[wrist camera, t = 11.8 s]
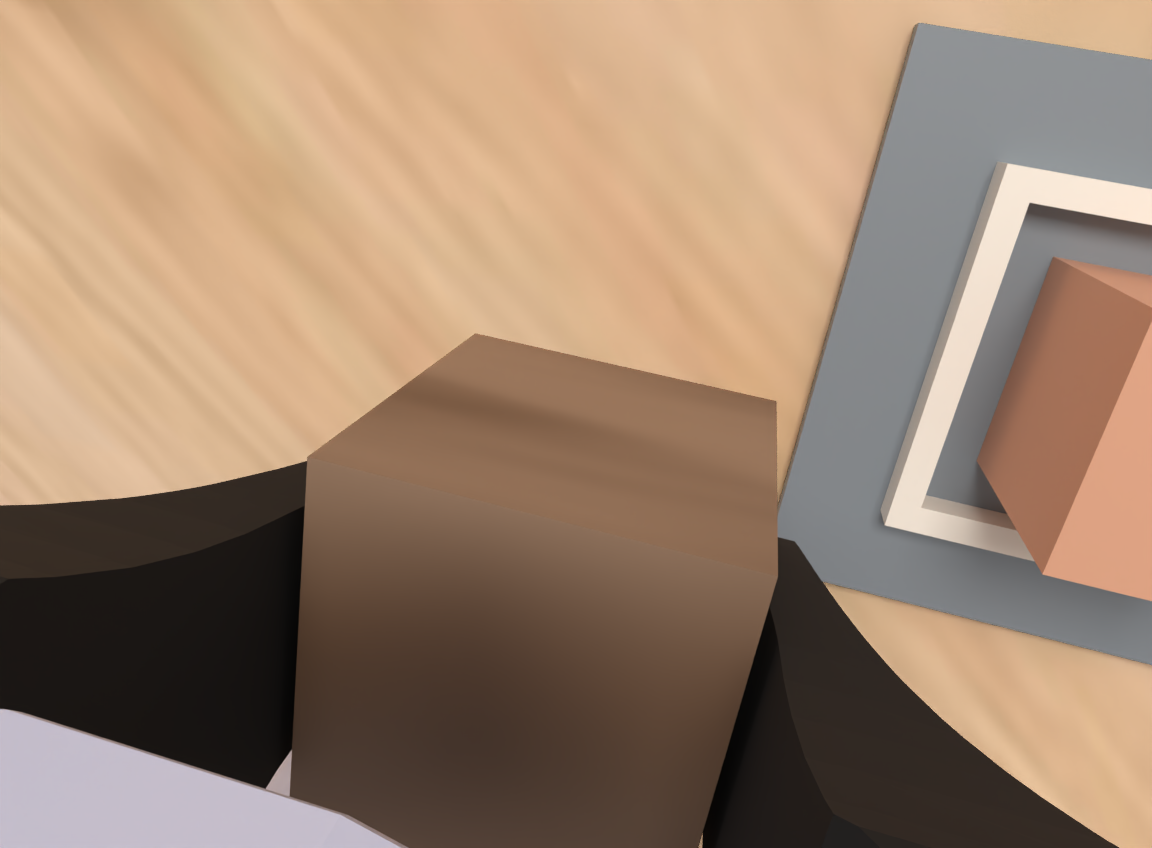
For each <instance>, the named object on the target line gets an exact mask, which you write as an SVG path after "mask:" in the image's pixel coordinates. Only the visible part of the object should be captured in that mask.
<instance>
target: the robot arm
mask: <svg viewBox="0 0 1152 848" xmlns="http://www.w3.org/2000/svg"><path fill="white" fill-rule="evenodd" d="M306 475H307V461H306V462H302V463H298V464H295V465H291V466H287V467H284V468H280V469H276V470H272V471H268V472H263V473H259V474H255V475H251V476H246V477H242V478H238V479H234V480H229V481H225V482H221V483H217V484H212V485H207V486H202V487H196V488H191V489H185V490H179V491H173V492H166V493H159V494H152V495H145V496H138V497H129V498H121V499H108V500H95V501H82V502H69V503H56V504H41V505H6V506H0V848H408V847H406V846H404V845H402V844H401V843H399V842H397V841H395V840H393V839H391V838H390V837H388V836H386V835H384V834H382V833H380V832H378V831H377V830H375V829H373V828H371V827H369V826H367V825H366V824H364V823H362V822H360V821H358V820H356V819H354V818H353V817H351V816H349V815H346V814H343V813H340V812H337V811H334V810H331V809H327V808H324V807H321V806H318V805H315V804H312V803H308V802H305V801H302V800H299V799H296V798H293V797H289V796H290V778H291V759H292V740H293V721H294V702H295V683H296V664H297V645H298V626H299V607H300V588H301V569H302V550H303V532H304V513H305V494H306ZM703 848H1119V847H1117V846H1115V845H1114V844H1112V843H1110V842H1108V841H1107V840H1105V839H1104V838H1102V837H1100V836H1099V835H1097V834H1096V833H1094V832H1093V831H1091V830H1090V829H1088V828H1087V827H1085V826H1084V825H1082V824H1081V823H1079V822H1078V821H1076V820H1075V819H1073V818H1072V817H1070V816H1069V815H1067V814H1066V813H1064V812H1063V811H1061V810H1060V809H1058V808H1057V807H1055V806H1054V805H1052V804H1051V803H1049V802H1048V801H1046V800H1045V799H1043V798H1042V797H1040V796H1039V795H1037V794H1036V793H1035V792H1033V791H1032V790H1031V789H1029V788H1028V787H1026V786H1025V785H1024V784H1022V783H1021V782H1019V781H1018V780H1017V779H1015V778H1014V777H1013V776H1011V775H1010V774H1008V773H1007V772H1006V771H1005V770H1003V769H1002V768H1001V767H999V766H998V765H997V764H996V763H994V762H993V761H992V760H991V759H989V758H988V757H987V756H986V755H984V754H983V753H982V752H981V751H979V750H978V749H977V748H976V747H974V746H973V745H972V744H971V743H969V742H968V741H967V740H966V739H964V738H963V737H962V736H961V735H960V734H959V733H957V732H956V731H955V730H954V729H953V728H952V727H951V726H949V725H948V724H947V723H946V722H945V721H944V720H942V719H941V718H940V717H939V716H938V715H937V714H936V713H935V712H934V711H933V710H932V709H931V708H930V707H929V706H928V705H927V704H926V703H925V702H924V701H922V700H921V699H920V698H919V697H918V696H917V695H916V694H915V693H914V692H913V691H912V690H911V689H910V688H909V687H908V686H907V685H906V684H905V683H904V682H903V681H902V680H901V679H900V678H899V677H898V676H897V675H896V674H895V673H894V672H893V670H892V669H891V668H890V667H889V666H888V665H887V664H886V663H885V661H884V660H883V659H882V658H881V657H880V656H879V655H878V653H877V652H876V651H875V650H874V649H873V648H872V646H871V645H870V644H869V643H868V642H867V641H866V639H865V638H864V637H863V636H862V635H861V633H860V632H859V631H858V630H857V628H856V627H855V626H854V624H853V623H852V622H851V621H850V619H849V618H848V617H847V615H846V614H845V613H844V611H843V610H842V609H841V607H840V606H839V605H838V603H837V602H836V601H835V599H834V598H833V596H832V595H831V594H830V592H829V591H828V589H827V588H826V586H825V585H824V583H823V582H822V581H821V579H820V578H819V576H818V575H817V573H816V572H815V570H814V569H813V567H812V566H811V564H810V563H809V561H808V560H807V558H806V557H805V555H804V554H803V552H802V551H801V549H800V548H799V546H798V545H797V544H796V542H795V541H792V540H788V539H784V538H779V537H778V578H777V582H776V585H775V588H774V592H773V595H772V599H771V602H770V605H769V609H768V612H767V616H766V619H765V622H764V626H763V629H762V633H761V636H760V639H759V643H758V646H757V650H756V653H755V656H754V660H753V663H752V667H751V670H750V673H749V677H748V680H747V683H746V687H745V690H744V694H743V697H742V700H741V704H740V707H739V711H738V714H737V717H736V721H735V724H734V728H733V731H732V734H731V738H730V741H729V745H728V748H727V751H726V755H725V758H724V762H723V765H722V768H721V772H720V775H719V779H718V782H717V785H716V789H715V792H714V796H713V799H712V802H711V806H710V809H709V812H708V816H707V819H706V823H705V826H704V829H703Z"/></svg>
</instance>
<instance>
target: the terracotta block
mask: <svg viewBox="0 0 1152 848" xmlns="http://www.w3.org/2000/svg"><path fill="white" fill-rule="evenodd" d="M977 462H978V464H979V466H980V467H981V469H982V471H983V473H984V474H985V476H986V478H987V480H988V481H989V483H990V485H991V486H992V488H993V490H994V492H995V493H996V495H997V497H998V499H999V500H1000V502H1001V504H1002V505H1003V507H1004V509H1005V511H1006V512H1007V514H1008V516H1009V518H1010V519H1011V521H1012V523H1013V524H1014V526H1015V528H1016V530H1017V531H1018V533H1019V535H1020V537H1021V538H1022V540H1023V542H1024V543H1025V545H1026V547H1027V549H1028V550H1029V552H1030V554H1031V556H1032V557H1033V559H1034V561H1035V563H1036V564H1037V566H1038V568H1039V569H1040V571H1041V573H1042V574H1043V575H1047V576H1051V577H1055V578H1059V579H1063V580H1067V581H1071V582H1075V583H1079V584H1083V585H1087V586H1092V587H1096V588H1100V589H1104V590H1108V591H1112V592H1116V593H1120V594H1124V595H1128V596H1132V597H1137V598H1141V599H1145V600H1149V601H1152V276H1151V275H1146V274H1141V273H1136V272H1131V271H1125V270H1120V269H1115V268H1110V267H1105V266H1100V265H1095V264H1089V263H1084V262H1079V261H1074V260H1069V259H1064V258H1059V257H1053V258H1052V261H1051V264H1050V266H1049V269H1048V272H1047V274H1046V277H1045V280H1044V282H1043V285H1042V288H1041V290H1040V293H1039V296H1038V298H1037V301H1036V304H1035V306H1034V309H1033V312H1032V314H1031V317H1030V320H1029V322H1028V325H1027V328H1026V330H1025V333H1024V336H1023V338H1022V341H1021V344H1020V346H1019V349H1018V352H1017V354H1016V357H1015V360H1014V362H1013V365H1012V368H1011V370H1010V373H1009V376H1008V378H1007V381H1006V384H1005V386H1004V389H1003V391H1002V394H1001V397H1000V399H999V402H998V405H997V407H996V410H995V413H994V415H993V418H992V421H991V423H990V426H989V429H988V431H987V434H986V437H985V439H984V442H983V445H982V447H981V450H980V453H979V455H978V458H977Z"/></svg>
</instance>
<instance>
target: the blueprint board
mask: <svg viewBox="0 0 1152 848" xmlns="http://www.w3.org/2000/svg"><path fill="white" fill-rule="evenodd" d="M1053 257H1059V258H1064V259H1069V260H1074V261H1079V262H1084V263H1089V264H1095V265H1100V266H1105V267H1110V268H1115V269H1120V270H1125V271H1131V272H1136V273H1141V274H1146V275H1151V276H1152V60H1149V59H1143V58H1137V57H1130V56H1124V55H1118V54H1112V53H1105V52H1099V51H1093V50H1086V49H1080V48H1074V47H1068V46H1061V45H1055V44H1049V43H1043V42H1036V41H1030V40H1024V39H1017V38H1011V37H1005V36H999V35H992V34H986V33H980V32H974V31H967V30H961V29H955V28H948V27H942V26H936V25H930V24H923V23H918V24H916V25H915V27H914V30H913V34H912V37H911V41H910V44H909V48H908V51H907V55H906V58H905V62H904V65H903V69H902V72H901V76H900V79H899V83H898V86H897V90H896V93H895V97H894V100H893V104H892V107H891V111H890V114H889V118H888V121H887V125H886V128H885V132H884V135H883V139H882V142H881V146H880V149H879V153H878V156H877V160H876V164H875V167H874V171H873V174H872V178H871V181H870V185H869V188H868V192H867V195H866V199H865V202H864V206H863V209H862V213H861V216H860V220H859V223H858V227H857V230H856V234H855V237H854V241H853V244H852V248H851V251H850V255H849V258H848V262H847V265H846V269H845V272H844V276H843V279H842V283H841V286H840V290H839V293H838V297H837V300H836V304H835V308H834V311H833V315H832V318H831V322H830V325H829V329H828V332H827V336H826V339H825V343H824V346H823V350H822V353H821V357H820V360H819V364H818V367H817V371H816V374H815V378H814V381H813V385H812V388H811V392H810V395H809V399H808V402H807V406H806V409H805V413H804V416H803V420H802V423H801V427H800V430H799V434H798V437H797V441H796V445H795V448H794V452H793V455H792V459H791V462H790V466H789V469H788V473H787V476H786V480H785V483H784V487H783V490H782V494H781V497H780V501H779V504H778V508H777V520H778V537H779V538H784V539H788V540H792V541H795V542H796V544H797V545H798V546H799V548H800V549H801V551H802V552H803V554H804V555H805V557H806V558H807V560H808V561H809V563H810V564H811V566H812V567H813V569H814V570H815V572H816V573H817V575H818V576H819V578H820V579H821V581H823V582H827V583H831V584H834V585H838V586H842V587H846V588H850V589H854V590H858V591H862V592H866V593H870V594H874V595H878V596H882V597H886V598H890V599H894V600H898V601H902V602H906V603H909V604H913V605H917V606H921V607H925V608H929V609H933V610H937V611H941V612H945V613H949V614H953V615H957V616H961V617H965V618H969V619H973V620H977V621H980V622H984V623H988V624H992V625H996V626H1000V627H1004V628H1008V629H1012V630H1016V631H1020V632H1024V633H1028V634H1032V635H1036V636H1040V637H1044V638H1048V639H1052V640H1055V641H1059V642H1063V643H1067V644H1071V645H1075V646H1079V647H1083V648H1087V649H1091V650H1095V651H1099V652H1103V653H1107V654H1111V655H1115V656H1119V657H1123V658H1127V659H1130V660H1134V661H1138V662H1142V663H1146V664H1150V665H1152V601H1149V600H1145V599H1141V598H1137V597H1132V596H1128V595H1124V594H1120V593H1116V592H1112V591H1108V590H1104V589H1100V588H1096V587H1092V586H1087V585H1083V584H1079V583H1075V582H1071V581H1067V580H1063V579H1059V578H1055V577H1051V576H1047V575H1043V574H1042V573H1041V571H1040V569H1039V568H1038V566H1037V564H1036V563H1035V561H1034V559H1033V557H1032V556H1031V554H1030V552H1029V550H1028V549H1027V547H1026V545H1025V543H1024V542H1023V540H1022V538H1021V537H1020V535H1019V533H1018V531H1017V530H1016V528H1015V526H1014V524H1013V523H1012V521H1011V519H1010V518H1009V516H1008V514H1007V512H1006V511H1005V509H1004V507H1003V505H1002V504H1001V502H1000V500H999V499H998V497H997V495H996V493H995V492H994V490H993V488H992V486H991V485H990V483H989V481H988V480H987V478H986V476H985V474H984V473H983V471H982V469H981V467H980V466H979V464H978V462H977V458H978V455H979V453H980V450H981V447H982V445H983V442H984V439H985V437H986V434H987V431H988V429H989V426H990V423H991V421H992V418H993V415H994V413H995V410H996V407H997V405H998V402H999V399H1000V397H1001V394H1002V391H1003V389H1004V386H1005V384H1006V381H1007V378H1008V376H1009V373H1010V370H1011V368H1012V365H1013V362H1014V360H1015V357H1016V354H1017V352H1018V349H1019V346H1020V344H1021V341H1022V338H1023V336H1024V333H1025V330H1026V328H1027V325H1028V322H1029V320H1030V317H1031V314H1032V312H1033V309H1034V306H1035V304H1036V301H1037V298H1038V296H1039V293H1040V290H1041V288H1042V285H1043V282H1044V280H1045V277H1046V274H1047V272H1048V269H1049V266H1050V264H1051V261H1052V258H1053Z"/></svg>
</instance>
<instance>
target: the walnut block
mask: <svg viewBox="0 0 1152 848" xmlns="http://www.w3.org/2000/svg"><path fill="white" fill-rule="evenodd" d="M777 578H778V520H777V411H776V401H773V400H768V399H764V398H759V397H755V396H750V395H746V394H742V393H737V392H733V391H728V390H724V389H719V388H715V387H711V386H706V385H702V384H697V383H693V382H688V381H684V380H679V379H675V378H671V377H666V376H662V375H657V374H653V373H648V372H644V371H640V370H635V369H631V368H626V367H622V366H617V365H613V364H608V363H604V362H600V361H595V360H591V359H586V358H582V357H577V356H573V355H569V354H564V353H560V352H555V351H551V350H546V349H542V348H538V347H533V346H529V345H524V344H520V343H515V342H511V341H506V340H502V339H498V338H493V337H489V336H484V335H480V334H474V335H473V336H471V337H470V338H469V339H467V340H466V341H465V342H463V343H462V344H460V345H459V346H458V347H456V348H455V349H454V350H452V351H451V352H450V353H448V354H447V355H446V356H444V357H443V358H441V359H440V360H439V361H437V362H436V363H435V364H433V365H432V366H431V367H429V368H428V369H426V370H425V371H424V372H422V373H421V374H420V375H418V376H417V377H416V378H414V379H413V380H411V381H410V382H409V383H407V384H406V385H405V386H403V387H402V388H401V389H399V390H398V391H397V392H395V393H394V394H392V395H391V396H390V397H388V398H387V399H386V400H384V401H383V402H382V403H380V404H379V405H377V406H376V407H375V408H373V409H372V410H371V411H369V412H368V413H367V414H365V415H364V416H362V417H361V418H360V419H358V420H357V421H356V422H354V423H353V424H352V425H350V426H349V427H348V428H346V429H345V430H343V431H342V432H341V433H339V434H338V435H337V436H335V437H334V438H333V439H331V440H330V441H328V442H327V443H326V444H324V445H323V446H322V447H320V448H319V449H318V450H316V451H315V452H313V453H312V454H311V455H309V456H308V457H307V475H306V494H305V513H304V532H303V550H302V569H301V588H300V607H299V626H298V645H297V664H296V683H295V702H294V721H293V740H292V759H291V778H290V796H289V797H293V798H296V799H299V800H302V801H305V802H308V803H312V804H315V805H318V806H321V807H324V808H327V809H331V810H334V811H337V812H340V813H343V814H346V815H349V816H351V817H353V818H354V819H356V820H358V821H360V822H362V823H364V824H366V825H367V826H369V827H371V828H373V829H375V830H377V831H378V832H380V833H382V834H384V835H386V836H388V837H390V838H391V839H393V840H395V841H397V842H399V843H401V844H402V845H404V846H406V847H408V848H698V846H699V843H700V840H701V836H702V833H703V829H704V826H705V823H706V819H707V816H708V812H709V809H710V806H711V802H712V799H713V796H714V792H715V789H716V785H717V782H718V779H719V775H720V772H721V768H722V765H723V762H724V758H725V755H726V751H727V748H728V745H729V741H730V738H731V734H732V731H733V728H734V724H735V721H736V717H737V714H738V711H739V707H740V704H741V700H742V697H743V694H744V690H745V687H746V683H747V680H748V677H749V673H750V670H751V667H752V663H753V660H754V656H755V653H756V650H757V646H758V643H759V639H760V636H761V633H762V629H763V626H764V622H765V619H766V616H767V612H768V609H769V605H770V602H771V599H772V595H773V592H774V588H775V585H776V582H777Z"/></svg>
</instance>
